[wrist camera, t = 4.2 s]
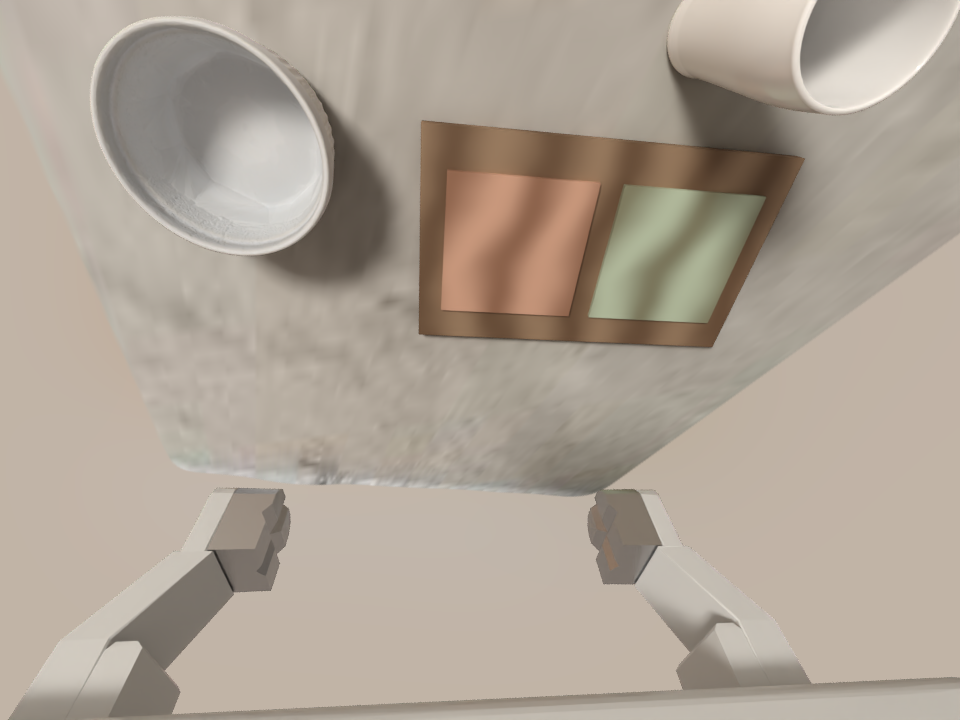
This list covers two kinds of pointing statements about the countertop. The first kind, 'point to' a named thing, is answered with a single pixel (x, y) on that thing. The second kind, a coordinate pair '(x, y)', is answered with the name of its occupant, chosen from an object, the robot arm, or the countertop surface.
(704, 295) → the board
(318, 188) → the ramekin
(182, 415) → the countertop surface
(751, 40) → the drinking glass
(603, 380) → the countertop surface
